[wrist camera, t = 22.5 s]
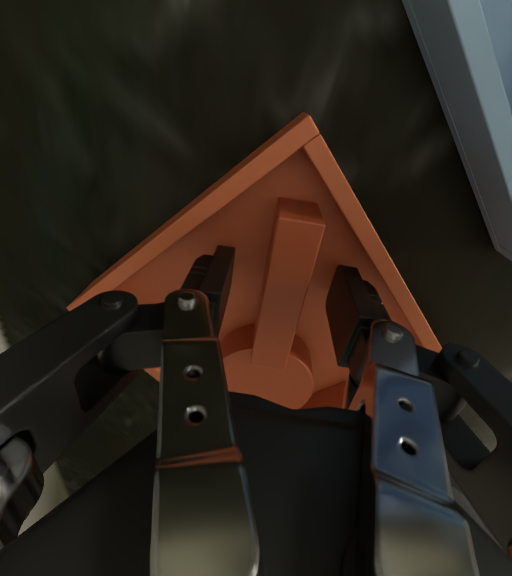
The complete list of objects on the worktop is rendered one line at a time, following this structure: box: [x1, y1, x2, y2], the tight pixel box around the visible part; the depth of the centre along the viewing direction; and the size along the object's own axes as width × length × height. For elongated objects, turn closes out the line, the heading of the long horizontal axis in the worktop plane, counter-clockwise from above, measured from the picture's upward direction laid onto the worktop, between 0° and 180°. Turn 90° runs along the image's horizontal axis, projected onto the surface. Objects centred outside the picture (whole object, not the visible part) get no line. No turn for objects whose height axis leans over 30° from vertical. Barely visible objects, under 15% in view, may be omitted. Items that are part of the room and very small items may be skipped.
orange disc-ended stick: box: [220, 197, 325, 409], centre depth 14 cm, size 12×5×2 cm, turn 172°
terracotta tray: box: [67, 112, 442, 409], centre depth 14 cm, size 13×12×2 cm
